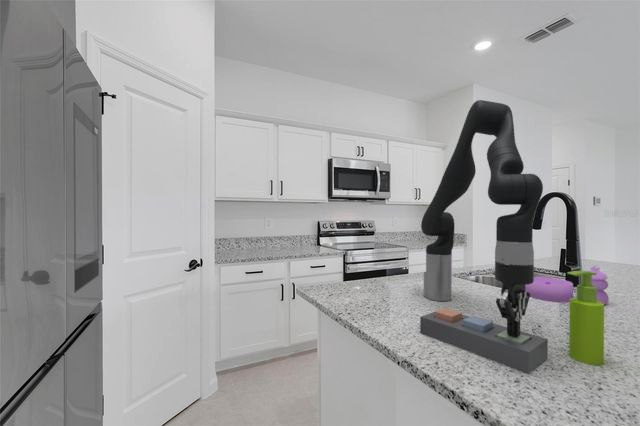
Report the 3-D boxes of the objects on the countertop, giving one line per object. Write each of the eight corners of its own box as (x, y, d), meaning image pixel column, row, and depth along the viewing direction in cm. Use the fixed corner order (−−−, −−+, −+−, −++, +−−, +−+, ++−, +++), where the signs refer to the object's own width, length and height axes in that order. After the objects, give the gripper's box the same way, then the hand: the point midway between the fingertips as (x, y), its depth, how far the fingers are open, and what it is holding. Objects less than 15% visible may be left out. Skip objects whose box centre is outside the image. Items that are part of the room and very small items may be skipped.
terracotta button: (434, 322, 83) (434, 311, 83) (444, 318, 86) (444, 308, 86) (451, 328, 79) (451, 316, 79) (461, 323, 82) (461, 312, 82)
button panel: (420, 332, 83) (420, 316, 83) (442, 324, 90) (442, 309, 90) (528, 373, 62) (528, 352, 62) (547, 358, 69) (547, 338, 69)
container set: (522, 297, 118) (522, 264, 118) (526, 289, 130) (526, 259, 130) (610, 311, 102) (610, 272, 102) (606, 300, 114) (606, 266, 114)
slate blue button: (463, 331, 77) (463, 320, 77) (472, 327, 80) (473, 315, 80) (483, 338, 73) (483, 326, 73) (493, 333, 76) (493, 321, 75)
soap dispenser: (558, 353, 71) (559, 269, 71) (585, 352, 72) (586, 268, 72) (582, 366, 66) (582, 274, 65) (611, 364, 66) (612, 273, 66)
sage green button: (496, 347, 70) (496, 334, 70) (506, 342, 73) (506, 329, 73) (521, 356, 66) (521, 342, 66) (529, 349, 69) (529, 336, 69)
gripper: (508, 256, 76) (508, 324, 77) (483, 261, 69) (482, 337, 69) (543, 260, 70) (543, 334, 70) (520, 266, 63) (520, 349, 63)
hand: (513, 335), depth 70 cm, fingers closed
